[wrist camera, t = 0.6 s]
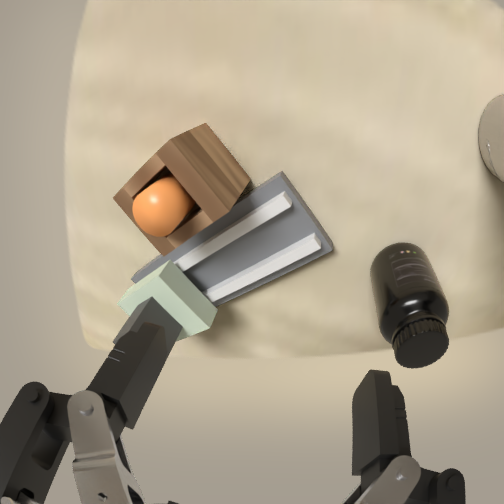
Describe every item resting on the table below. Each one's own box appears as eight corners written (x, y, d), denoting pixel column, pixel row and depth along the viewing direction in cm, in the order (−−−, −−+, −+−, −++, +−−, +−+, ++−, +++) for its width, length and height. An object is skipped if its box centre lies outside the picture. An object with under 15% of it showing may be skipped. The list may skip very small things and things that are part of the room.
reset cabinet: (205, 122, 26) (170, 139, 20) (250, 179, 29) (229, 211, 22) (150, 173, 30) (109, 201, 24) (190, 221, 33) (160, 259, 26)
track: (282, 170, 27) (278, 180, 25) (332, 242, 30) (332, 256, 28) (136, 272, 39) (126, 284, 37) (180, 317, 42) (172, 330, 39)
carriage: (170, 259, 32) (129, 316, 24) (217, 309, 34) (191, 371, 27) (128, 288, 36) (91, 338, 29) (170, 330, 39) (142, 383, 31)
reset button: (176, 164, 23) (152, 180, 20) (205, 199, 25) (186, 221, 21) (148, 189, 25) (124, 208, 22) (175, 221, 26) (155, 244, 23)
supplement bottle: (421, 290, 31) (444, 373, 21) (367, 291, 33) (375, 378, 23) (432, 239, 27) (471, 319, 18) (372, 239, 29) (390, 324, 19)
